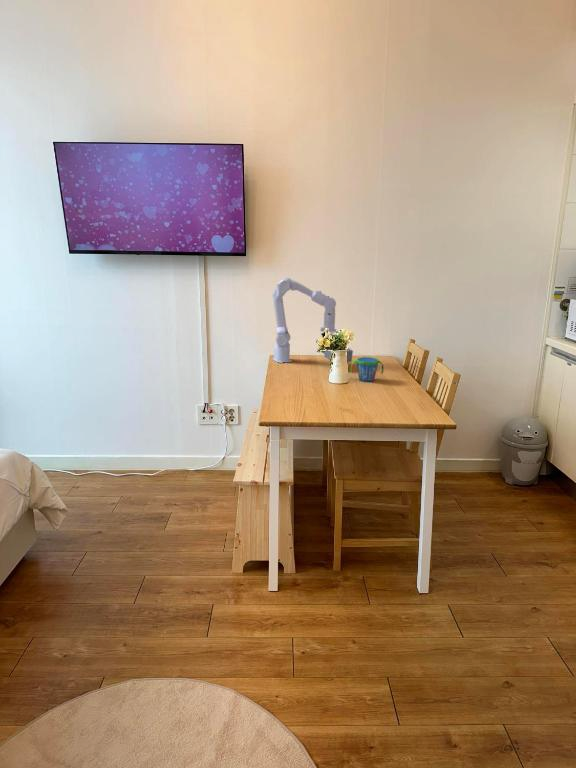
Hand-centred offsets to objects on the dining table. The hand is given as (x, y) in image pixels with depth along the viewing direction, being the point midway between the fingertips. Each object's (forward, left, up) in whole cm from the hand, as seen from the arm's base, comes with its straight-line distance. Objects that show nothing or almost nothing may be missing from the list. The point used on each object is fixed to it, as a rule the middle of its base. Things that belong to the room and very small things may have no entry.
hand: (328, 346), depth 299 cm
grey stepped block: (+7, 0, -4) cm, 8 cm away
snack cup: (+36, 0, -10) cm, 37 cm away
